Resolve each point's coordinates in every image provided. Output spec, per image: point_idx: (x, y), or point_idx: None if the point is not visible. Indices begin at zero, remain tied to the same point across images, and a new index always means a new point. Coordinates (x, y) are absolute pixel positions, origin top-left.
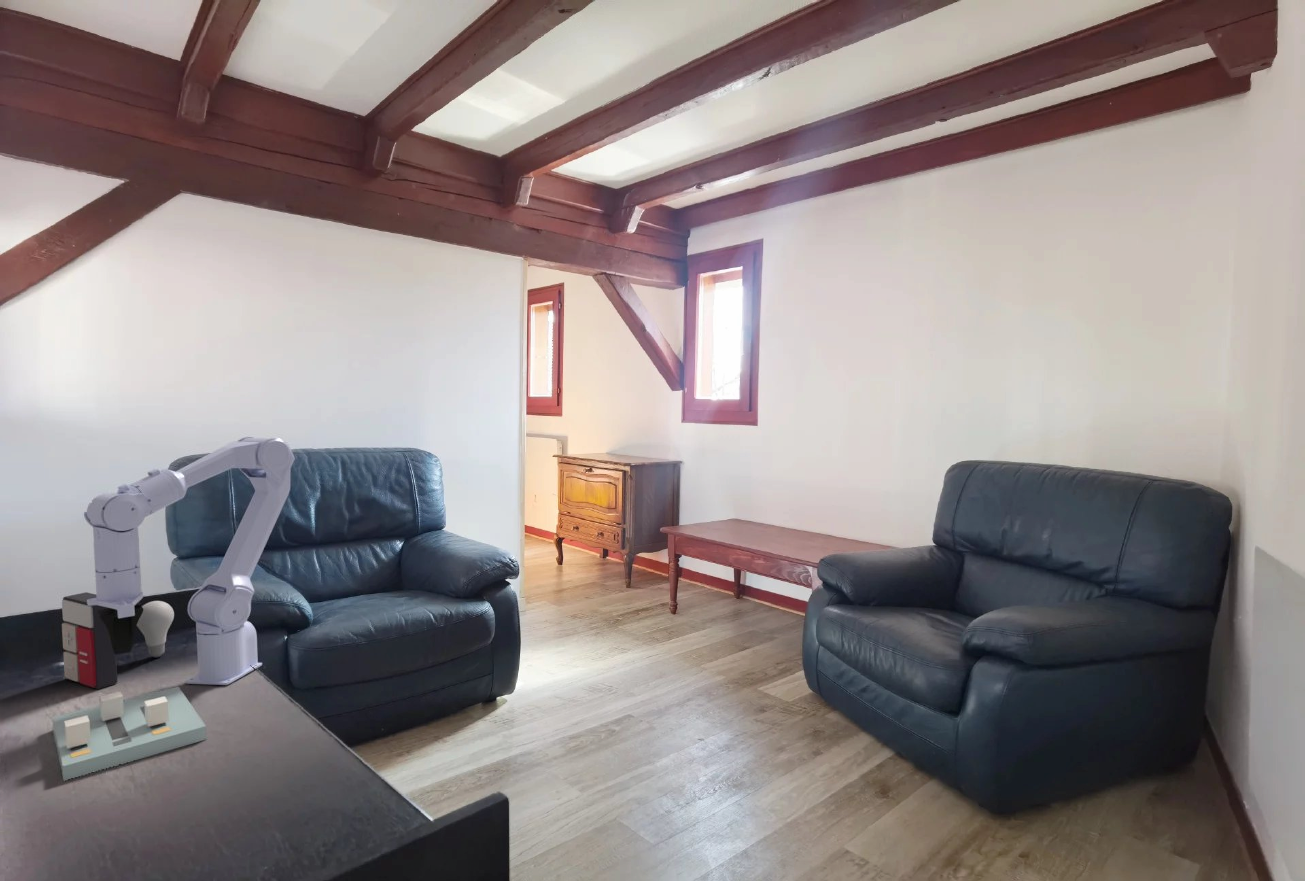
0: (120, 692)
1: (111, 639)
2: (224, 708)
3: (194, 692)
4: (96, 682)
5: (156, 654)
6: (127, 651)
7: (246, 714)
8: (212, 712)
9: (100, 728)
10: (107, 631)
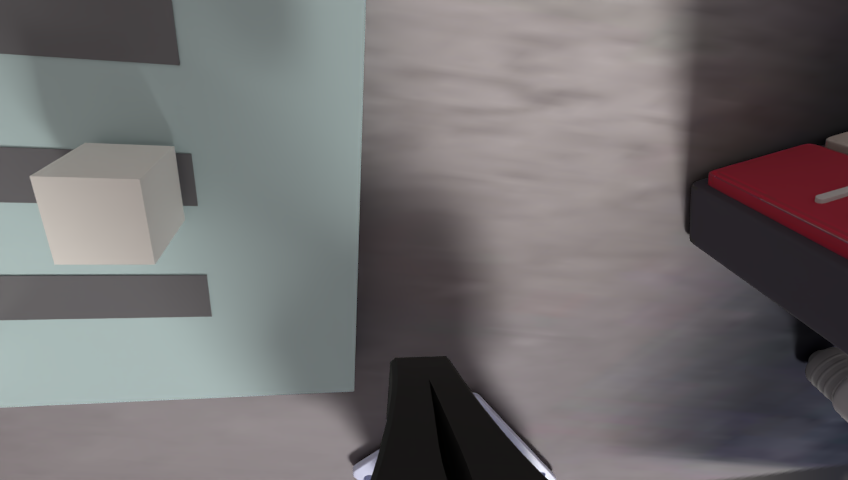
0: (133, 262)
1: (382, 441)
2: (143, 441)
3: (374, 397)
4: (716, 189)
5: (811, 364)
6: (387, 412)
7: (35, 477)
8: (129, 414)
9: (26, 122)
10: (487, 470)
